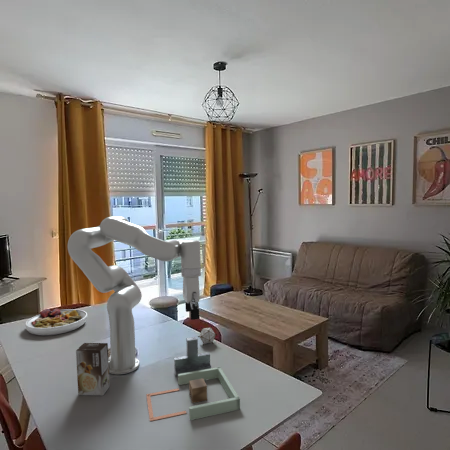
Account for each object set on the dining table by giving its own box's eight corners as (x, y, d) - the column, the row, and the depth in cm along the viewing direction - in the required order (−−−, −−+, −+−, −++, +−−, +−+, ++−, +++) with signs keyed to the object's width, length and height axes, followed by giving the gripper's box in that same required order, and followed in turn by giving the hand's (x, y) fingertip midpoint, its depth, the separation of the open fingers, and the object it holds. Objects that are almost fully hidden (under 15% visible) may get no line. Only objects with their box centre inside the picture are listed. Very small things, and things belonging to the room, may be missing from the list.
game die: (210, 352, 149) (213, 341, 143) (194, 345, 150) (196, 333, 144) (217, 337, 156) (220, 326, 150) (201, 330, 157) (204, 318, 151)
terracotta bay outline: (149, 421, 96) (149, 420, 96) (146, 394, 109) (146, 394, 109) (186, 413, 99) (186, 412, 99) (178, 388, 113) (178, 388, 113)
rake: (211, 370, 125) (210, 338, 125) (175, 377, 121) (175, 343, 120) (208, 366, 129) (208, 335, 128) (174, 372, 125) (173, 339, 124)
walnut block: (192, 403, 105) (192, 388, 104) (189, 394, 109) (189, 380, 109) (207, 400, 106) (206, 385, 106) (203, 392, 111) (203, 378, 111)
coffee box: (110, 385, 115) (109, 342, 115) (102, 396, 109) (101, 350, 108) (85, 385, 116) (84, 342, 115) (76, 395, 109) (75, 350, 109)
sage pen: (190, 420, 96) (189, 409, 96) (178, 383, 116) (177, 374, 116) (240, 409, 101) (239, 398, 101) (220, 375, 121) (220, 366, 121)
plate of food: (99, 322, 179) (98, 309, 179) (46, 342, 154) (45, 326, 153) (67, 314, 195) (66, 301, 194) (14, 330, 169) (13, 316, 169)
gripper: (177, 268, 130) (178, 309, 131) (185, 277, 114) (187, 323, 115) (195, 267, 133) (196, 307, 134) (206, 275, 116) (207, 321, 117)
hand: (192, 315), depth 124 cm, fingers open, 9 cm apart
